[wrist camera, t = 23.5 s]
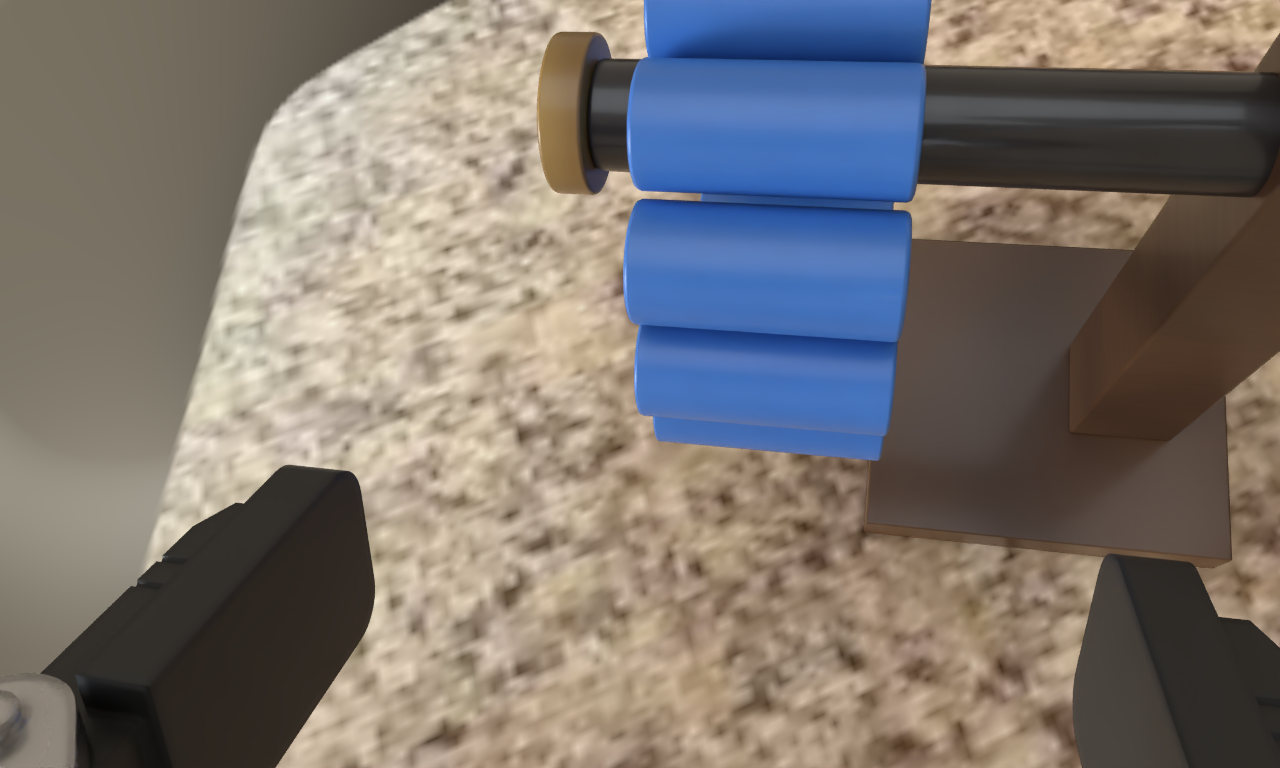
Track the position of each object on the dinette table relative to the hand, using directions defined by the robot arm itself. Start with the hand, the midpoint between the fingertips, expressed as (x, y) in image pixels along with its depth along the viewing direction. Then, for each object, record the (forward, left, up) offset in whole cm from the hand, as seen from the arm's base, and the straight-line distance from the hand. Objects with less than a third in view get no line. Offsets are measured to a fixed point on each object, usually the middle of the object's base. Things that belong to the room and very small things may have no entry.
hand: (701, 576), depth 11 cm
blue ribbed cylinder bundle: (-5, -7, -10) cm, 13 cm away
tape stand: (-7, -4, -16) cm, 18 cm away
